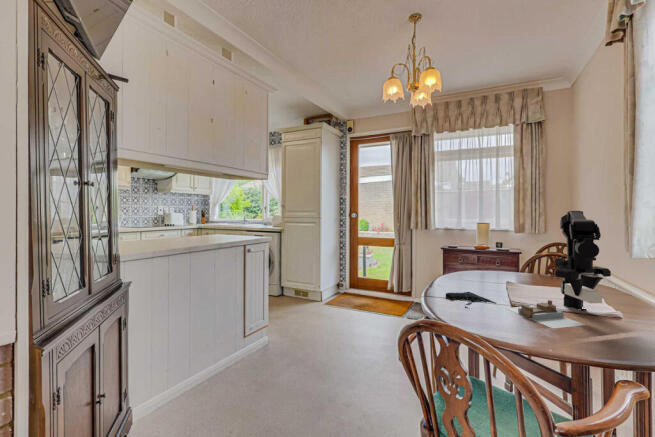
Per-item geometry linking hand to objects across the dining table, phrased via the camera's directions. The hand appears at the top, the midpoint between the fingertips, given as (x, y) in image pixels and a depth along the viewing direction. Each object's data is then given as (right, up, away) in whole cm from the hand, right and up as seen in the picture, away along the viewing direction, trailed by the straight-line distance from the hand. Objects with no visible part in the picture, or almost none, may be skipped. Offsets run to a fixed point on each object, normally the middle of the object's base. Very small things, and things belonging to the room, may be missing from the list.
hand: (582, 295), depth 112 cm
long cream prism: (0, -1, 0) cm, 1 cm away
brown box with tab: (-11, -10, +7) cm, 17 cm away
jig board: (-10, -11, +6) cm, 16 cm away
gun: (-28, -11, +27) cm, 41 cm away
